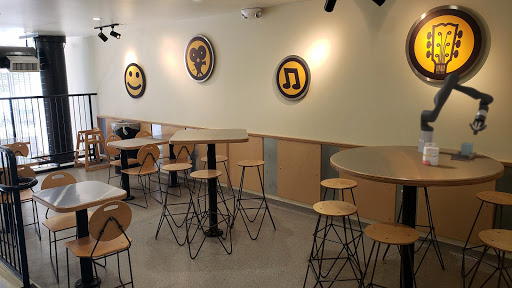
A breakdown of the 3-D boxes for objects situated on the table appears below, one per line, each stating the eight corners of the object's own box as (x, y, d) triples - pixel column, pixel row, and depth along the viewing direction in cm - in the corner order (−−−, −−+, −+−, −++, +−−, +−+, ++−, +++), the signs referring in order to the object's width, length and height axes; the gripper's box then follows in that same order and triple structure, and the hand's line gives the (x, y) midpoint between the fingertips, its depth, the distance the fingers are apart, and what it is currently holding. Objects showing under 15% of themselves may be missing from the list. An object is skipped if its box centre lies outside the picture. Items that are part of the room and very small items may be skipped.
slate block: (463, 154, 292) (464, 142, 290) (472, 155, 288) (473, 143, 286) (460, 155, 286) (461, 143, 284) (469, 156, 282) (470, 144, 280)
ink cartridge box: (424, 165, 259) (426, 143, 257) (422, 163, 264) (423, 142, 261) (438, 165, 258) (439, 143, 256) (435, 163, 263) (437, 142, 261)
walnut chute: (459, 155, 295) (459, 149, 294) (476, 157, 287) (477, 151, 286) (450, 159, 278) (450, 153, 277) (468, 161, 270) (469, 155, 269)
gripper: (490, 120, 303) (484, 138, 297) (472, 118, 312) (466, 136, 306) (490, 114, 298) (484, 132, 292) (471, 113, 307) (464, 130, 301)
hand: (474, 134), depth 299 cm, fingers closed
